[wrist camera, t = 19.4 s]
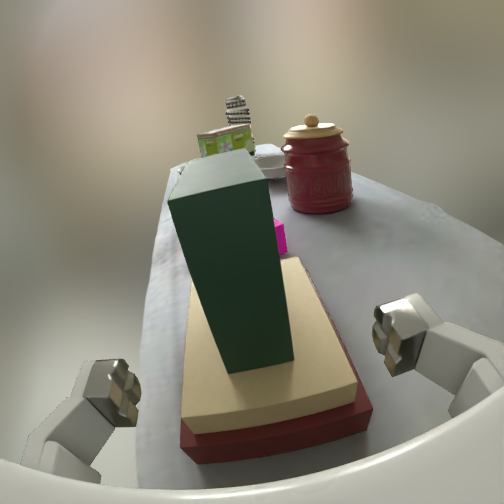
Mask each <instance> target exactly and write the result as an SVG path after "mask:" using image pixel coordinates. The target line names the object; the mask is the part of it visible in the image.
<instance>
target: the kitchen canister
mask: <svg viewBox="0 0 504 504" xmlns="http://www.w3.org/2000/svg"><path fill="white" fill-rule="evenodd" d="M304 121H305V125H301V126H296V127H293V128H290V129H289V131H288V132H287V133H285V134H284V135H283V137H284V138H285V139H286V143H285V144H284V145H283V146H282V147H281V151H282V152H284V154H285V163H284V168H285V172H286V179H287V186H288V197H289V201H290V204H291V207H292V208H293V209H295V210H297V211H300V212H303V213H312V214H320V213H330V212H335V211H338V210H341V209H344V208H346V207H348V206H349V205H350V204H351V203H352V197H353V188H352V182H351V169H350V161H351V159H350V158H349V157H348V154H347V146H348V145H349V142H348V141H347V140H346V139H344V138H343V137H342V135H341V133H343V130H342V129H341V128H339V127H337V126H335V124H329V123H327V124H326V123H321V124H318V123H319V121H318V118H317V116H316V115H314V114H309V115H307V116H306V117H305V119H304Z"/></svg>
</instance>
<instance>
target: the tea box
mask: <svg viewBox="0 0 504 504" xmlns="http://www.w3.org/2000/svg"><path fill="white" fill-rule="evenodd" d="M197 137H198V142H199V147H200V152H201V157H207V156H211V155H215V154H220V153H224V152H229V151H234V150H239V149H244V148H246V150H247V151H248V152H249V154H250V155H251V157H252V158H253V160H254V159H256V158H255V152H254V146H253V140H252V135H251V129H250V124H244V125H234V126H228V127H224V128H220V129H216V130H212V131H209V132H205V133H201V134H198V135H197Z"/></svg>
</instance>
